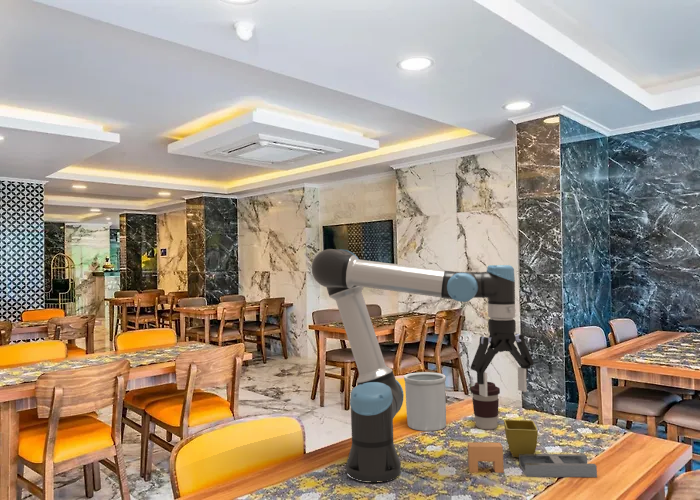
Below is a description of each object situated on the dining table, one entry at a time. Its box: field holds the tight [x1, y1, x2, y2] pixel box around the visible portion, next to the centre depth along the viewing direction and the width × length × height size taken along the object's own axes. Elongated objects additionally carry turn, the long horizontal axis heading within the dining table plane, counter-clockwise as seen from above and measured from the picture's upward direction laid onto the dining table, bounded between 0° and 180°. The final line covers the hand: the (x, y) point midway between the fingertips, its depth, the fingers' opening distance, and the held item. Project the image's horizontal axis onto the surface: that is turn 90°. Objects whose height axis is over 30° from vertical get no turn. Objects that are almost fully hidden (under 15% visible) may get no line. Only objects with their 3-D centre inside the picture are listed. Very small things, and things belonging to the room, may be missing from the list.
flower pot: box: [503, 419, 539, 458], centre depth 147 cm, size 9×9×9 cm
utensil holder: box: [403, 371, 447, 432], centre depth 177 cm, size 15×15×18 cm
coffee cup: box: [470, 381, 501, 430], centre depth 173 cm, size 10×10×15 cm
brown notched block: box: [467, 441, 505, 474], centre depth 137 cm, size 9×3×7 cm, turn 85°
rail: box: [518, 453, 598, 478], centre depth 135 cm, size 18×8×3 cm, turn 85°
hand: (503, 393), depth 141 cm, fingers open, 13 cm apart
